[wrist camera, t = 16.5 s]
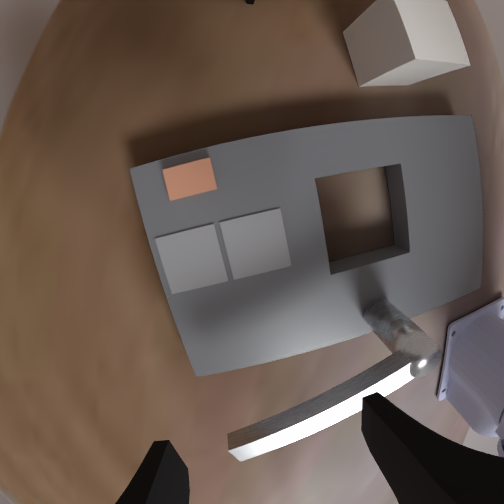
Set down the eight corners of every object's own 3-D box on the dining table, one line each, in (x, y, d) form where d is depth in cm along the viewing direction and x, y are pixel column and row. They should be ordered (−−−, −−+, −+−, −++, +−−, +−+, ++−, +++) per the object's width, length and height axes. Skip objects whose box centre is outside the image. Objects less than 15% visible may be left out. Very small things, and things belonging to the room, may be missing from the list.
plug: (408, 85, 17) (470, 65, 10) (358, 86, 16) (415, 58, 10) (392, 34, 16) (447, 1, 9) (342, 32, 15) (389, -12, 9)
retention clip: (387, 292, 18) (439, 336, 12) (394, 316, 18) (443, 362, 13) (221, 378, 18) (224, 446, 13) (237, 397, 19) (243, 464, 13)
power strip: (465, 279, 21) (485, 290, 18) (198, 359, 20) (195, 382, 18) (454, 117, 17) (477, 114, 15) (139, 168, 17) (126, 168, 14)
